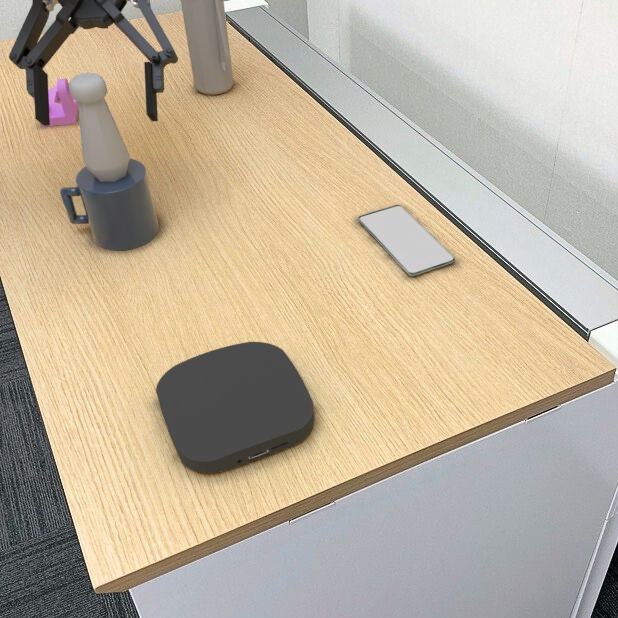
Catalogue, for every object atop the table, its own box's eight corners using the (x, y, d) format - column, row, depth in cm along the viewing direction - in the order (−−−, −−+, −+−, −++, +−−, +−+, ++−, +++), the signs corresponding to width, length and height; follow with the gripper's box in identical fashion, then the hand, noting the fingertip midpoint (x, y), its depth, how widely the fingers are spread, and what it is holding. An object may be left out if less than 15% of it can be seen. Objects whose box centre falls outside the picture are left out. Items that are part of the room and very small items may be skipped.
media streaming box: (152, 388, 81) (146, 369, 79) (276, 348, 85) (273, 329, 83) (189, 487, 71) (183, 468, 69) (326, 436, 76) (325, 417, 74)
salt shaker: (128, 185, 94) (103, 87, 85) (83, 186, 94) (54, 88, 85) (137, 162, 99) (114, 66, 90) (94, 163, 99) (67, 67, 90)
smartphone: (399, 203, 106) (456, 259, 96) (399, 207, 106) (456, 262, 96) (356, 216, 103) (410, 274, 94) (356, 219, 104) (410, 278, 94)
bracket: (75, 123, 126) (64, 84, 121) (42, 126, 125) (29, 87, 121) (80, 90, 135) (70, 53, 130) (49, 93, 135) (37, 55, 130)
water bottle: (185, 88, 136) (159, -63, 118) (220, 75, 139) (200, -72, 122) (214, 104, 131) (191, -50, 113) (249, 91, 134) (233, -61, 117)
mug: (162, 212, 106) (150, 155, 100) (154, 249, 100) (140, 191, 93) (80, 215, 106) (62, 159, 99) (67, 253, 99) (47, 195, 93)
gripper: (195, -36, 96) (202, 125, 96) (3, -29, 96) (9, 133, 95) (184, -69, 89) (192, 105, 89) (-25, -63, 88) (-18, 113, 88)
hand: (97, 120), depth 92 cm, fingers open, 13 cm apart
